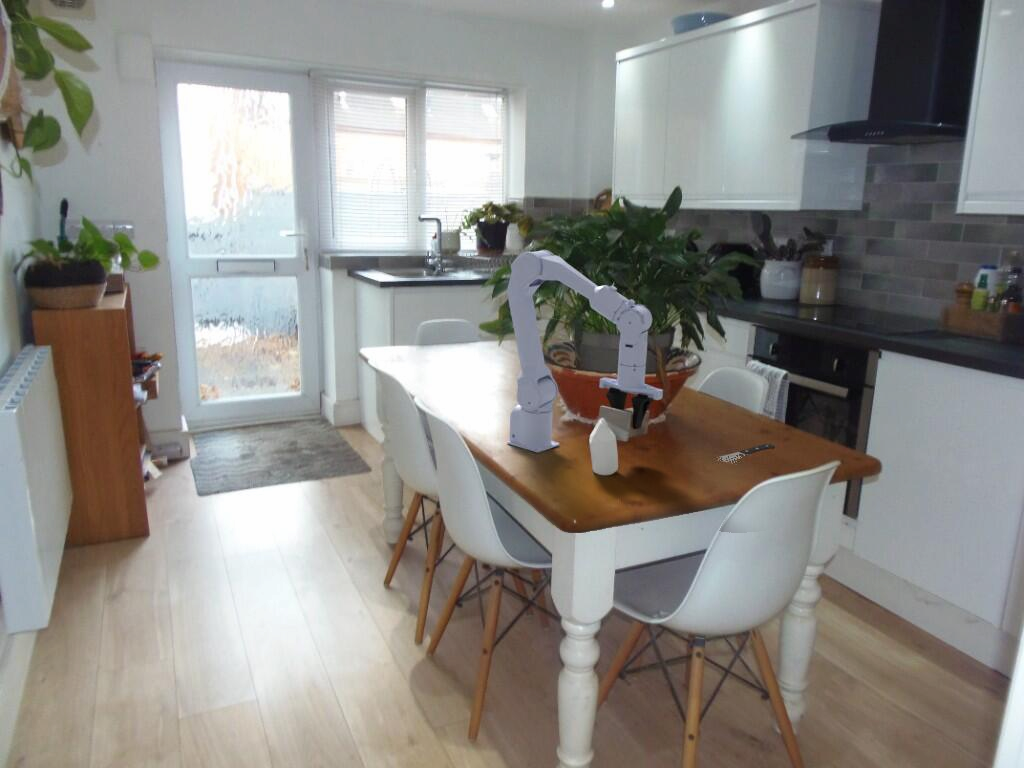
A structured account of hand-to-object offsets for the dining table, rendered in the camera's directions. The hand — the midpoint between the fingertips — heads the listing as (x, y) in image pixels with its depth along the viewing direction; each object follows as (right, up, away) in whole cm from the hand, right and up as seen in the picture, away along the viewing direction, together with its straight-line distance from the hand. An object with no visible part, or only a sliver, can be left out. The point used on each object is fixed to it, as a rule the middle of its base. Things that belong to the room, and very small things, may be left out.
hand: (627, 425), depth 160 cm
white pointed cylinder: (-5, -9, -3) cm, 11 cm away
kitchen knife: (+26, -8, +6) cm, 28 cm away
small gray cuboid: (0, -2, 0) cm, 2 cm away
